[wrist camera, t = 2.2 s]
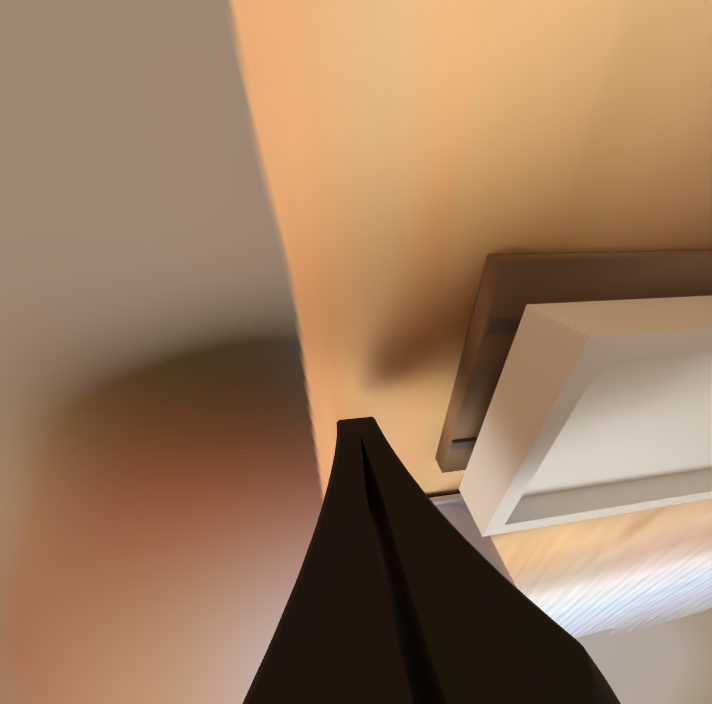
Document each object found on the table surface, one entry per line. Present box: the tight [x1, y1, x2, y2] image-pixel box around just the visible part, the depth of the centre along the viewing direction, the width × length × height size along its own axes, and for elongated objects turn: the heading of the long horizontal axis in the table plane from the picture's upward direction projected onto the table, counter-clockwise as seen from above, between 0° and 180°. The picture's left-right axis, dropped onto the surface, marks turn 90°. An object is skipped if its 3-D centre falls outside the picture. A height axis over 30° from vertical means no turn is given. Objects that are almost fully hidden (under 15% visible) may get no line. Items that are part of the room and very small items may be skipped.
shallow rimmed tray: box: [459, 295, 712, 537], centre depth 11 cm, size 10×16×3 cm, turn 90°
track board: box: [436, 250, 712, 473], centre depth 14 cm, size 12×23×1 cm, turn 90°
